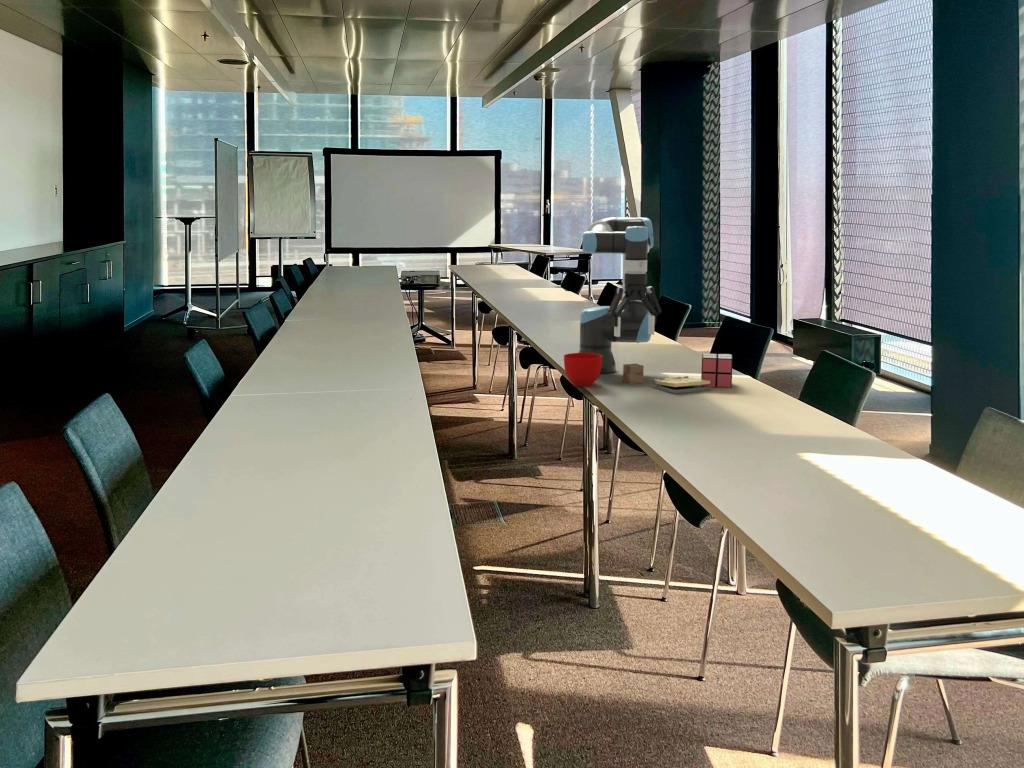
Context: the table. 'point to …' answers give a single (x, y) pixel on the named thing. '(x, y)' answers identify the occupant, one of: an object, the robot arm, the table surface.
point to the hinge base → (680, 389)
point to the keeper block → (633, 373)
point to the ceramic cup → (582, 368)
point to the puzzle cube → (717, 370)
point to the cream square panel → (682, 382)
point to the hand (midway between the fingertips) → (634, 335)
